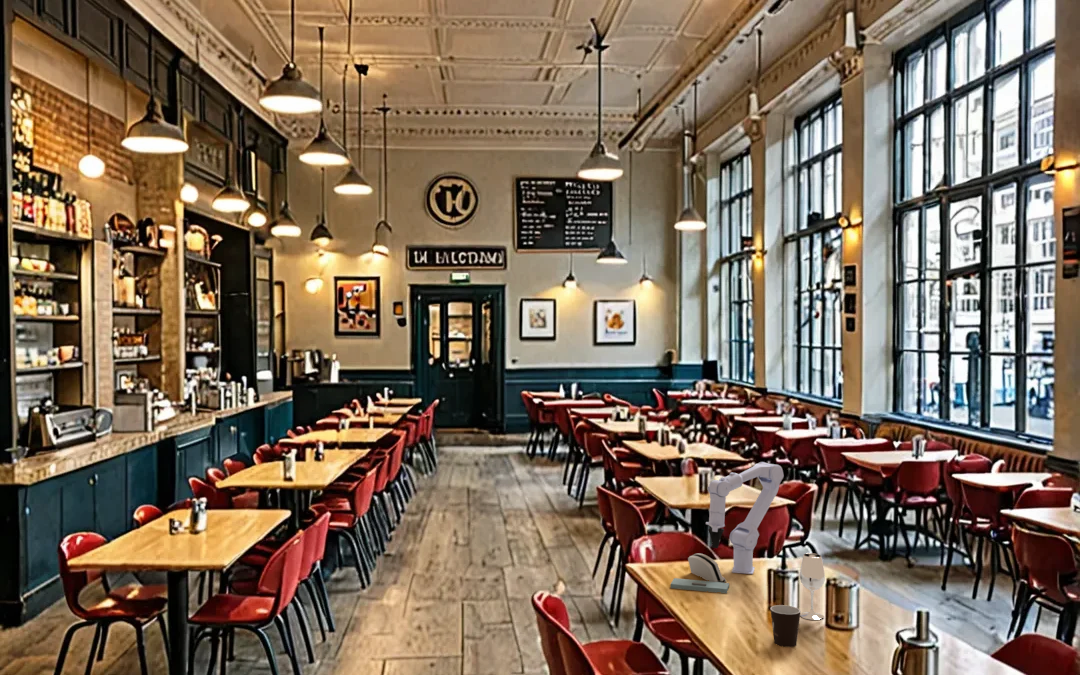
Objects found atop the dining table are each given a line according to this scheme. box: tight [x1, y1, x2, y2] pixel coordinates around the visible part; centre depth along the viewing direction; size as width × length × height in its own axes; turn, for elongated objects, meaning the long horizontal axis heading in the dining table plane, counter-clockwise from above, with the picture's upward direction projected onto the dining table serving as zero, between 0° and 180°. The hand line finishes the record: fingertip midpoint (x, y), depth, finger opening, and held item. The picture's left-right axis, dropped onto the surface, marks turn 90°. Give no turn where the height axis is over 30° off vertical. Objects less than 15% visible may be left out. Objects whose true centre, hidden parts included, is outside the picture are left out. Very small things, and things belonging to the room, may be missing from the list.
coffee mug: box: [770, 604, 802, 648], centre depth 260 cm, size 12×9×10 cm
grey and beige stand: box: [687, 552, 727, 583], centre depth 328 cm, size 17×5×10 cm, turn 23°
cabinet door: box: [670, 577, 730, 594], centre depth 315 cm, size 8×20×2 cm, turn 72°
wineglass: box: [799, 552, 826, 621], centre depth 283 cm, size 8×8×20 cm
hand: (715, 547), depth 332 cm, fingers closed
